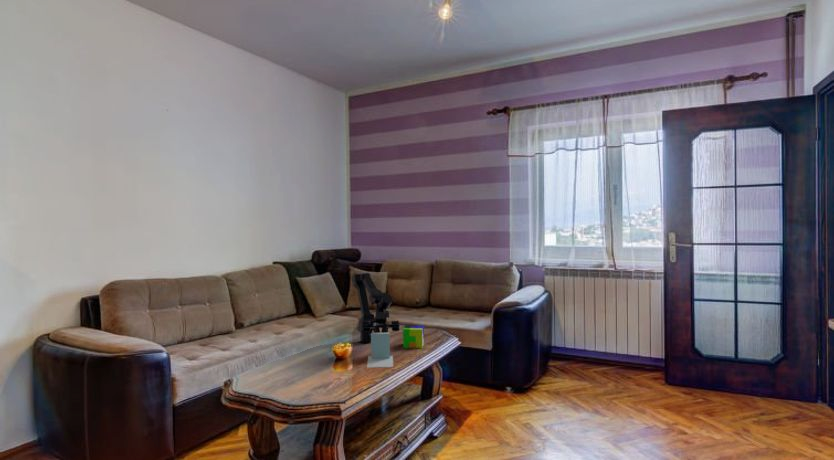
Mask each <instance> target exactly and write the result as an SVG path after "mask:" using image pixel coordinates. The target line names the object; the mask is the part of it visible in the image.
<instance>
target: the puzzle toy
mask: <svg viewBox="0 0 834 460" xmlns="http://www.w3.org/2000/svg"><path fill="white" fill-rule="evenodd" d="M424 330H425V328H424V325H418V324H417V325H413V324H410V325H409V324H405V326H404V327H403V329H402V341H403V343H402V344H403V345H402V347H403V348H409V349H410V348H412V349H413V348H414V349H415V348H417V349H418V348H419V349H421V350H422V349H423V347H424V343H425V338H424V337H425V335H424V333H425V332H424Z"/></svg>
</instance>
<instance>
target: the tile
mask: <svg viewBox="0 0 834 460" xmlns="http://www.w3.org/2000/svg"><path fill="white" fill-rule="evenodd" d="M390 337H391V333H390V332H387V333H381V332H380V333H374V332H372V333H371V343H370V351H371V352H370V354H371V355H370V356H371V359H385V358H390V356H391V349H390V348H391V338H390Z"/></svg>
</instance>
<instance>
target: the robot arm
mask: <svg viewBox="0 0 834 460" xmlns="http://www.w3.org/2000/svg"><path fill="white" fill-rule="evenodd" d="M351 282H352V284H353V287H354V288H355V289H356V290H357V291H356V292H357V295H358V296H357V297H358V301H359V307H360V312H361V315H360V318H359V323H358V325H357V331H358V332H359V335H360V340H358V343H361V344H371V333H389V328H391V331H392V332H399V331H400V321H399V320H391V323H387V319H389V318H390V310H388V309H389V308H390V306H391V304H392V303H393V300H394V299H393V296H391V294H389V293H387V292H382V290H380V289H378V288H377V286H376V284H375V282H374V281H373V279H372V277H371V274H370V273H369V272H364V273H353V275H352V276H351ZM367 292H368V294H367ZM368 295H369V296H368ZM369 303H370V304H371V305H375V309H374V310H375V311H374V312H375V313H372V312H371V310H370V305H369ZM380 329H381V330H380Z"/></svg>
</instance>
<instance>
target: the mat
mask: <svg viewBox="0 0 834 460" xmlns="http://www.w3.org/2000/svg"><path fill="white" fill-rule="evenodd" d="M391 367H392V368H393V367H394V355H390V358H385V359H371V355H369V356H367V363H366V368H391Z"/></svg>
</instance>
